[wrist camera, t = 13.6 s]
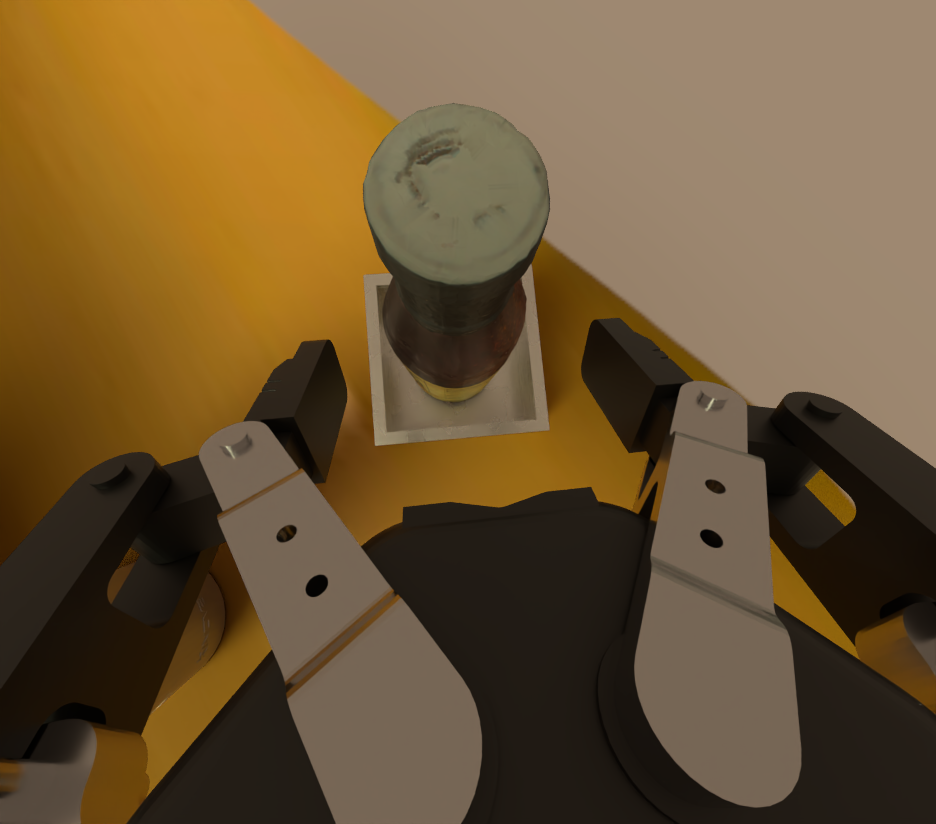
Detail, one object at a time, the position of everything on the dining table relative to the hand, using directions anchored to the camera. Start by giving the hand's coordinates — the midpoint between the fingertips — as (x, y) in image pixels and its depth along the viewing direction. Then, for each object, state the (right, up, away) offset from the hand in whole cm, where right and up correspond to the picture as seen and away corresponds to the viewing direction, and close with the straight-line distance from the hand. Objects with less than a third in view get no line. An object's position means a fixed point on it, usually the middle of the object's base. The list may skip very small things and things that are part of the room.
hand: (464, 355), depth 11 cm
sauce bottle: (-1, +2, +16) cm, 16 cm away
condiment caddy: (-1, +2, +17) cm, 17 cm away
